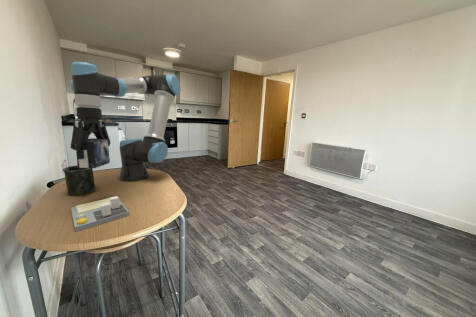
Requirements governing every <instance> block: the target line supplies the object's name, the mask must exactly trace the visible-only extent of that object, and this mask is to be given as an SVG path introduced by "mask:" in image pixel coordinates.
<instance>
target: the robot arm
mask: <svg viewBox="0 0 476 317" xmlns="http://www.w3.org/2000/svg"><path fill="white" fill-rule="evenodd" d="M70 70H71V74H70V75H71V80H70V89H71V90H72V91H73V93H74V101H75V106H77V107H76V108H75V110H76V117H78V119H80V120H79V121H78V120H77V121H76V120H74V121H72V128H73V129H72V135H71V140H70V141H71V142H70V149H71V150H73V151H76V150H77V154H76V157H77V156H78V159H79V167H80V168H88V167H89V165H88V156H87V150H84V149H85V147H86V141H88V139H90V138H89V137H90V135H92V134H93V135H94V136H95V138H96V139H108V146H109V147H110V145H111V139H110V137H109V133H108V130H107V125H106V122H105V121H100V119H102V118H103V115H102V109H101V107H102V103H101V96H102V97H103V96H110V97H111V96H113V97H115V98H117V97H119V98H122V97H124V96H126V95H127V94H136V93H138V95H151V96H152V95H153V96H155V100H154V101H155V102H154V106H153V108H152V114H151V119H150V122H149V127H148V131H147V134H145V135H144V136H143V138H142V137H141V138H140V137H139V138H130V139H122V140H120V141H119V154H120V155H119V156H120V163H121V167H120V172H119V175H118V176H119V181H123V182H133V181H134V182H136V181H140V180H141V181H142V180H144V179H148V177H149V172H148V170H147V168H146V165H145V162H146V163H151V164H157V163H159V164H160V163H162V162H163V161H165V159H167V157H168V153H169V148H168V144H166V140H165V138H164V137H165V131H166V128H167V123H168V120H169V119H168V118H169V114H170V110H171V106H172V105H171V104H172V102H173V101H175V99H176V96H179V95H180V93H181V90H182V89H181V83H180V81H179V79H178V77H177V76H176V75H174V74H169V73H166V74H150V75H145V76H136V77H134V78H129V77H128V78H127V77H126V78H124V77H113V76H110V75H106V74H102V73H100V72H99V71H98V67H97V66H96V65H95V64H92V63H89V62H84V61H73V62H71V66H70Z"/></svg>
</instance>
